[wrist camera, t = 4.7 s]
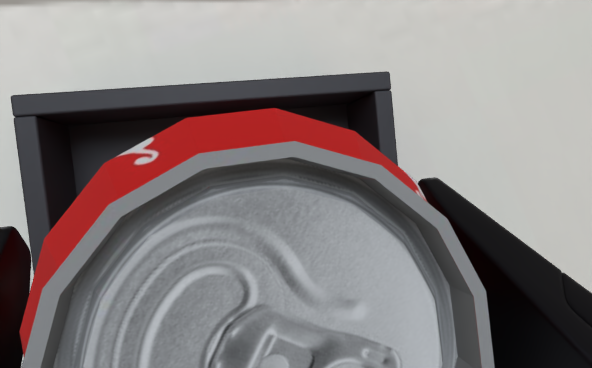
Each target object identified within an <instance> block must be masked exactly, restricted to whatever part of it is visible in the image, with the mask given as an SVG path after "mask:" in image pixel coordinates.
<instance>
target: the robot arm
mask: <svg viewBox="0 0 592 368" xmlns="http://www.w3.org/2000/svg"><path fill="white" fill-rule="evenodd" d="M418 185H419V187H420V189H421V191H422V193H423V195H424V196H425V198H426V200H427V202H428V203H429V204H430V205H431V206H432V207H434V208H435V209H436V210H437V211H439V212H440V213H441V214H442V215H443V216H445V217H446V218H447V219H448V221H449V223H450V225H451V227H452V228H453V230H454V232H455V234H456V236H457V238H458V240H459V242H460V243H461V245H462V247H463V249H464V251H465V253H466V255H467V257H468V258H469V260H470V262H471V264H472V266H473V268H474V270H475V272H476V273H477V275H478V277H479V279H480V281H481V283H482V285H483V287H484V288H485V290H486V295H487V304H488V313H489V322H490V331H491V340H492V349H493V357H494V366H495V368H592V293H591V292H589V291H588V290H587V289H585V288H584V287H582V286H581V285H580V284H578V283H577V282H576V281H574V280H573V279H572V278H570V277H569V276H568V275H566V274H565V273H561V270H560V269H558V268H557V267H556V266H554V265H553V264H552V263H550V262H549V261H548V260H546V259H545V258H544V257H542V256H541V255H540V254H538V253H537V252H536V251H534V250H533V249H532V248H530V247H529V246H528V245H526V244H525V243H524V242H522V241H521V240H520V239H518V238H517V237H516V236H514V235H513V234H512V233H510V232H509V231H508V230H506V229H505V228H504V227H502V226H501V225H500V224H498V223H497V222H496V221H494V220H493V219H492V218H490V217H489V216H488V215H486V214H485V213H484V212H482V211H481V210H480V209H478V208H477V207H476V206H474V205H473V204H472V203H470V202H469V201H468V200H466V199H465V198H464V197H462V196H461V195H460V194H458V193H457V192H456V191H454V190H453V189H452V188H450V187H449V186H448V185H446V184H445V183H444V182H442V181H441V180H440V179H438V178H426V179H421V180H420V181H419V182H418ZM30 270H31V254H30V250H29V248H28V246H27V245H26V243H25V241H24V240H23V238H22V237H21V235H20V234H19V232H18V231H17V229H16V228H14V227H12V226H8V227H0V368H21V362H22V356H23V349H22V343H21V337H20V332H19V331H20V328H21V324H22V320H23V316H24V313H25V309H26V305H27V301H28V297H29V292H30Z"/></svg>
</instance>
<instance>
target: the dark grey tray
mask: <svg viewBox="0 0 592 368" xmlns="http://www.w3.org/2000/svg"><path fill="white" fill-rule="evenodd" d="M390 89H391V83H390V73H389V72H373V73H357V74H341V75H326V76H310V77H294V78H278V79H263V80H247V81H231V82H215V83H200V84H184V85H168V86H152V87H137V88H121V89H105V90H89V91H74V92H58V93H42V94H26V95H13V96H11V103H12V111H13V115H14V117H15V118H14V126H15V134H16V141H17V149H18V156H19V164H20V172H21V179H22V187H23V194H24V202H25V210H26V217H27V225H28V232H29V240H30V248H31V255H32V263H33V270H34V275H35V271H36V267H37V264H38V260H39V256H40V252H41V249H42V245H43V241H44V238H45V237H46V236H47V235H48V233H49V232H50V231H51V230H52V228H53V227H54V226H55V224H56V223H57V222H58V221H59V219H60V218H61V217H62V216H63V214H64V213H65V212H66V211H67V209H68V208H69V207H70V206H71V204H72V203H73V202H74V201H75V199H76V198H77V197H78V196H79V194H80V193H81V192H82V190H83V189H84V188H85V187H86V185H87V184H88V183H89V182H90V180H91V179H92V178H93V177H94V175H95V174H96V173H97V172H98V170H99V169H100V168H101V167H102V165H103V164H104V163H105V162H107V161H109V160H111V159H113V158H115V157H116V156H118V155H120V154H122V153H124V152H125V151H127V150H129V149H131V148H133V147H134V146H136V145H138V144H140V143H142V142H143V141H145V140H147V139H149V138H151V137H153V136H154V135H156V134H158V133H160V132H162V131H163V130H165V129H167V128H169V127H171V126H172V125H174V124H176V123H178V122H180V121H181V120H183V119H185V118H189V117H198V116H207V115H216V114H225V113H233V112H242V111H251V110H260V109H269V108H277V109H281V110H284V111H287V112H291V113H294V114H298V115H301V116H305V117H308V118H311V119H315V120H318V121H322V122H325V123H328V124H332V125H335V126H339V127H342V128H346V129H349V130H352V131H355V132H357V133H358V134H359V135H360V136H361V137H363V138H364V139H365V140H366V141H368V142H369V143H370V144H371V145H372V146H374V147H375V148H376V149H377V150H379V151H380V152H381V153H382V154H383V155H385V156H386V157H387V158H388V159H390V160H391V161H392V162H393V163H395V164H396V165H397V166H398V162H397V150H396V139H395V128H394V117H393V106H392V94H391V91H390Z"/></svg>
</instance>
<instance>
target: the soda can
mask: <svg viewBox="0 0 592 368" xmlns="http://www.w3.org/2000/svg"><path fill="white" fill-rule="evenodd" d="M19 332H20V337H21V343H22V349H23V354H24V360H23V364H22V368H495V366H494V357H493V349H492V340H491V331H490V322H489V313H488V304H487V295H486V290H485V288H484V287H483V285H482V283H481V281H480V279H479V277H478V275H477V273H476V272H475V270H474V268H473V266H472V264H471V262H470V260H469V258H468V257H467V255H466V253H465V251H464V249H463V247H462V245H461V243H460V242H459V240H458V238H457V236H456V234H455V232H454V230H453V228H452V227H451V225H450V223H449V221H448V219H447V218H446V217H445V216H443V215H442V214H441V213H440V212H439V211H437V210H436V209H435V208H434V207H432V206H431V205H430V204H429V203H428V202H427V200H426V198H425V196H424V195H423V193H422V191H421V189H420V187H419V185H418V183H417V181H415V180H414V179H413V178H412V177H410V176H409V175H408V174H407V173H406V172H404V171H403V170H402V169H401V168H399V167H398V166H397V165H396V164H395V163H393V162H392V161H391V160H390V159H388V158H387V157H386V156H385V155H383V154H382V153H381V152H380V151H379V150H377V149H376V148H375V147H374V146H372V145H371V144H370V143H369V142H368V141H366V140H365V139H364V138H363V137H361V136H360V135H359V134H358V133H357V132H355V131H352V130H349V129H346V128H342V127H339V126H335V125H332V124H328V123H325V122H322V121H318V120H315V119H311V118H308V117H305V116H301V115H298V114H294V113H291V112H287V111H284V110H281V109H277V108H269V109H260V110H251V111H242V112H233V113H225V114H216V115H207V116H198V117H189V118H185V119H183V120H181V121H180V122H178V123H176V124H174V125H172V126H171V127H169V128H167V129H165V130H163V131H162V132H160V133H158V134H156V135H154V136H153V137H151V138H149V139H147V140H145V141H143V142H142V143H140V144H138V145H136V146H134V147H133V148H131V149H129V150H127V151H125V152H124V153H122V154H120V155H118V156H116V157H115V158H113V159H111V160H109V161H107V162H105V163H104V164H103V165H102V167H101V168H100V169H99V170H98V172H97V173H96V174H95V175H94V177H93V178H92V179H91V180H90V182H89V183H88V184H87V185H86V187H85V188H84V189H83V190H82V192H81V193H80V194H79V196H78V197H77V198H76V199H75V201H74V202H73V203H72V204H71V206H70V207H69V208H68V209H67V211H66V212H65V213H64V214H63V216H62V217H61V218H60V219H59V221H58V222H57V223H56V224H55V226H54V227H53V228H52V230H51V231H50V232H49V233H48V235H47V236H46V237H45V238H44V241H43V245H42V249H41V252H40V256H39V260H38V264H37V267H36V271H35V275H34V279H33V282H32V286H31V290H30V294H29V297H28V301H27V305H26V309H25V313H24V316H23V320H22V324H21V328H20V331H19Z"/></svg>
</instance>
